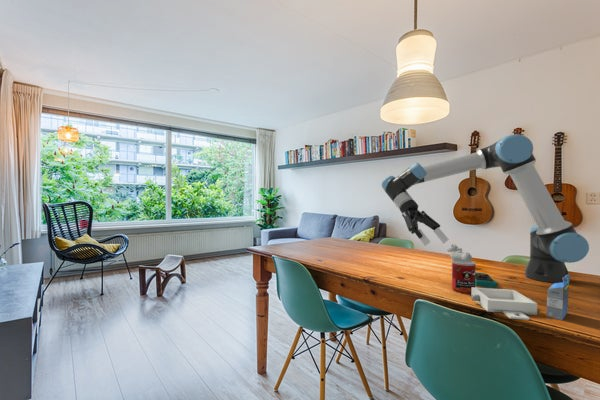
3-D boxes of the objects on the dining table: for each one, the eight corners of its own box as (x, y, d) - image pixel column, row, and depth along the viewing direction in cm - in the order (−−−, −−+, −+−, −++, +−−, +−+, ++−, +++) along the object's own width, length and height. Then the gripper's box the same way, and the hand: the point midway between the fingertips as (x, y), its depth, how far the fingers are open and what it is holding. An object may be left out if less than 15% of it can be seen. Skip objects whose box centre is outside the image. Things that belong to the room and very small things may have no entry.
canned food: (455, 293, 109) (455, 263, 108) (449, 286, 116) (449, 258, 116) (478, 295, 107) (478, 264, 107) (471, 288, 114) (471, 260, 114)
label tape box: (551, 309, 93) (552, 270, 93) (569, 313, 90) (569, 273, 90) (545, 316, 88) (546, 275, 88) (563, 321, 85) (564, 278, 84)
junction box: (513, 296, 106) (514, 286, 106) (554, 322, 84) (554, 309, 84) (460, 292, 109) (461, 283, 109) (486, 316, 87) (486, 304, 87)
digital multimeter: (488, 279, 129) (488, 273, 129) (497, 289, 115) (497, 282, 115) (469, 278, 131) (469, 271, 131) (476, 287, 117) (476, 280, 117)
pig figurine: (450, 262, 160) (450, 243, 160) (473, 267, 149) (473, 246, 149) (444, 263, 158) (444, 243, 158) (467, 268, 147) (467, 247, 147)
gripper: (417, 209, 142) (446, 245, 130) (383, 210, 128) (412, 250, 116) (427, 199, 138) (459, 235, 126) (393, 198, 123) (425, 239, 111)
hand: (437, 242), depth 121 cm, fingers open, 13 cm apart
